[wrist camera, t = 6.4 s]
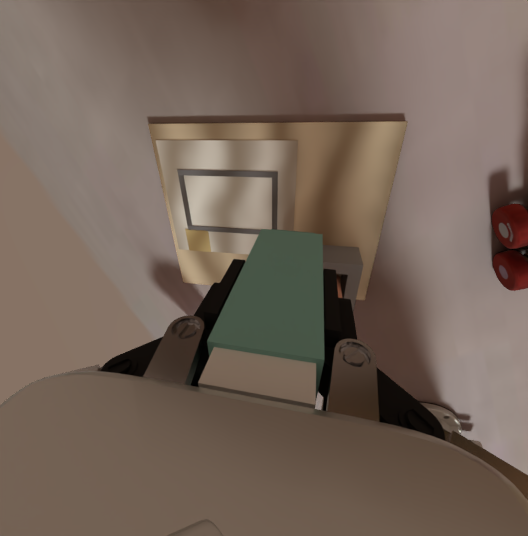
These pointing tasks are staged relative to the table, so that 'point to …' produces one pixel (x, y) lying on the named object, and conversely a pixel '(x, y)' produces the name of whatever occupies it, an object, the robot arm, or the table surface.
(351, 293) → the button housing
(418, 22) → the table surface
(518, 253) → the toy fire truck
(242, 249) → the board
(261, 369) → the green and white block
